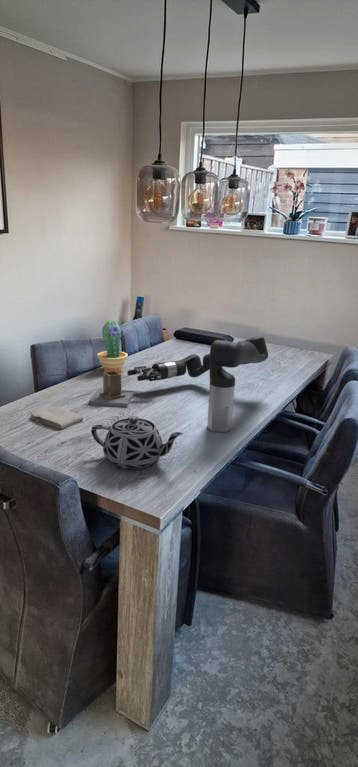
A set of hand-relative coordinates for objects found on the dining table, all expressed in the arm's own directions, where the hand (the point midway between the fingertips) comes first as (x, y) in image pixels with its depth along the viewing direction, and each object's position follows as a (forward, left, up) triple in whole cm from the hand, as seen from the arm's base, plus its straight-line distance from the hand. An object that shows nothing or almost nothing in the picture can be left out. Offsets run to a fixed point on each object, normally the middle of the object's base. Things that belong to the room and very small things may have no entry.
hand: (132, 375), depth 220 cm
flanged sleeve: (-6, +8, -7) cm, 12 cm away
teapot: (-60, -12, -9) cm, 62 cm away
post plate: (-6, +8, -9) cm, 13 cm away
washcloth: (-32, +23, -10) cm, 41 cm away
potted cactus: (+35, +17, -9) cm, 40 cm away
